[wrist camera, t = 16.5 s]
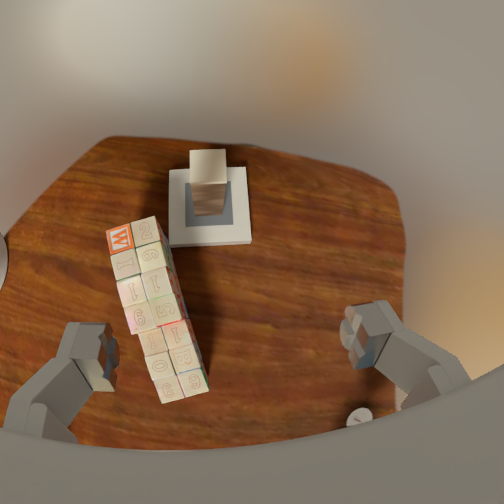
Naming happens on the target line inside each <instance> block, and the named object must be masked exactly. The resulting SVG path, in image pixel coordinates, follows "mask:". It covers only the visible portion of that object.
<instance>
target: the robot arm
mask: <svg viewBox="0 0 504 504" xmlns="http://www.w3.org/2000/svg"><path fill="white" fill-rule="evenodd" d="M7 262H8V256H7V247H6V243H5V240H4V238H3V236H2V234H1V233H0V289H1V287H2V285H3V282H4V279H5V276H6V271H7ZM345 315H346V318H345V319H344V320H343V321H342V322H341V326H340V339H341V342H342V344H343V347H345V348H346V349H348V350H349V354H348V358H349V360H350V362H351V364H352V366H353V368H354V370H356V369H361V368H366V367H371V366H374V367H375V368H376V369H377V370H379V371H380V372H381V373H382V374H383V375H385V376H386V377H387V378H388V379H389V380H391V381H392V382H393V383H394V384H396V385H397V386H398V387H399V388H401V389H402V390H403V391H404V392H405V393H407V394H408V396H407V398H406V399H405V400H404V401H403V403H402V405H401V409H402V410H401V411H399V412H396V413H393V414H390V415H387V416H384V417H381V418H377V419H374V420H371V421H368V422H364V423H361V424H357V425H353V426H350V427H346V428H342V429H338V430H334V431H330V432H326V433H321V434H317V435H312V436H307V437H302V438H297V439H291V440H285V441H279V442H273V443H266V444H259V445H251V446H242V447H232V448H219V449H203V450H135V449H119V448H107V447H98V446H89V445H82V444H78V439H77V438H76V436H75V435H74V434H73V433H72V432H71V431H70V430H69V429H68V428H67V427H68V426H69V424H70V423H71V422H72V420H73V419H74V418H75V416H76V415H77V413H78V412H79V411H80V409H81V408H82V407H83V405H84V404H85V403H86V401H87V400H88V399H89V397H90V396H91V395H92V393H93V391H115V388H116V381H117V374H116V372H115V369H116V368H117V367H118V365H119V360H120V353H119V346H118V343H117V340H116V339H115V338H114V337H113V336H112V331H113V330H112V328H111V325H110V324H109V323H95V322H69V323H68V324H67V325H66V328H65V331H64V334H63V337H62V340H61V343H60V346H59V349H58V352H57V355H56V358H52V359H50V360H49V361H48V362H47V363H46V364H45V365H44V366H43V367H42V368H41V369H40V370H39V371H38V372H37V373H35V374H34V375H33V376H32V377H31V378H30V379H29V380H28V381H27V382H26V383H25V384H24V385H23V386H22V387H21V388H20V389H19V390H18V391H17V392H16V393H15V394H14V395H13V396H12V397H11V399H10V403H9V406H8V410H7V413H6V417H5V421H4V425H3V428H1V427H0V504H504V364H503V365H501V366H499V367H497V368H495V369H494V370H492V371H490V372H488V373H486V374H484V375H482V376H480V377H478V378H477V379H474V380H472V381H471V379H470V377H469V376H468V374H467V372H466V371H465V369H464V368H463V366H462V365H461V363H460V361H459V360H458V358H457V357H456V356H454V355H453V354H451V353H449V352H448V351H446V350H444V349H442V348H441V347H439V346H437V345H436V344H434V343H432V342H431V341H429V340H427V339H425V338H424V337H422V336H420V335H418V334H417V333H415V332H414V331H412V330H410V329H407V330H406V329H405V327H404V325H403V324H402V322H401V321H400V319H399V318H398V316H397V315H396V313H395V312H394V310H393V309H392V307H391V306H390V304H389V303H388V302H387V301H386V300H379V301H373V302H366V303H360V304H353V305H348V306H347V308H346V310H345Z"/></svg>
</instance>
